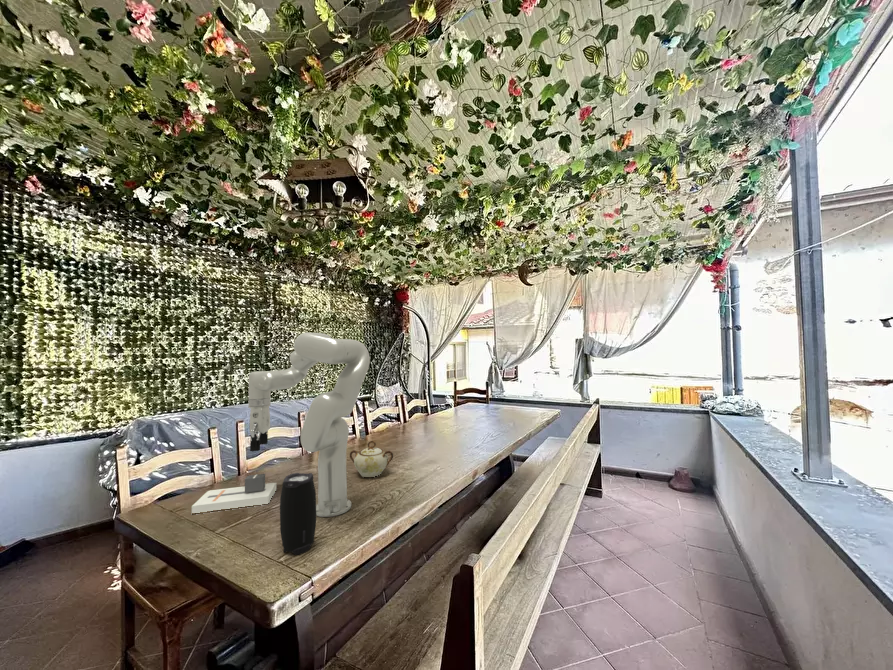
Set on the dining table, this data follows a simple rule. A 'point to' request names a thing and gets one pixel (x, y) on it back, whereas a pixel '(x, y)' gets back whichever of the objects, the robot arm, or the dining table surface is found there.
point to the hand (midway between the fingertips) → (259, 447)
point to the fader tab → (254, 483)
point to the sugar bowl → (371, 460)
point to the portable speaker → (298, 512)
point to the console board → (233, 498)
